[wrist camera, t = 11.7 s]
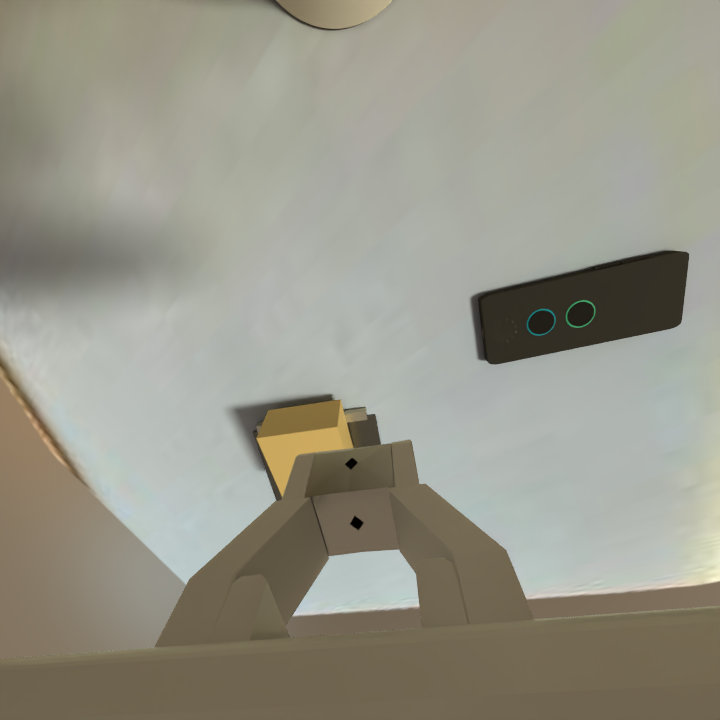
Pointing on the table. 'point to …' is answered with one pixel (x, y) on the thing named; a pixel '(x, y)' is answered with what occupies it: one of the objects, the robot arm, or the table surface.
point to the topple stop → (359, 428)
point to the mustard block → (301, 435)
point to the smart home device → (584, 307)
